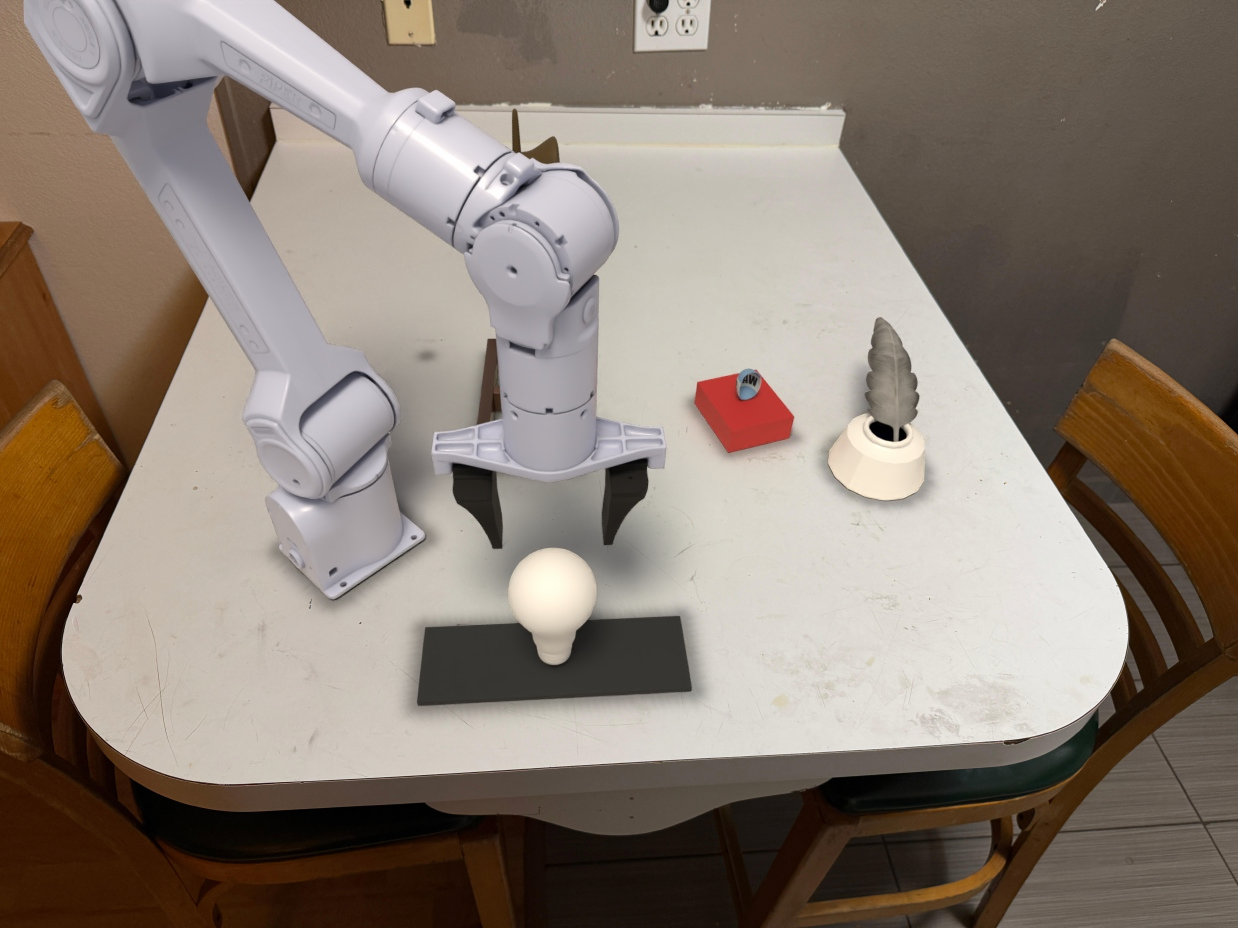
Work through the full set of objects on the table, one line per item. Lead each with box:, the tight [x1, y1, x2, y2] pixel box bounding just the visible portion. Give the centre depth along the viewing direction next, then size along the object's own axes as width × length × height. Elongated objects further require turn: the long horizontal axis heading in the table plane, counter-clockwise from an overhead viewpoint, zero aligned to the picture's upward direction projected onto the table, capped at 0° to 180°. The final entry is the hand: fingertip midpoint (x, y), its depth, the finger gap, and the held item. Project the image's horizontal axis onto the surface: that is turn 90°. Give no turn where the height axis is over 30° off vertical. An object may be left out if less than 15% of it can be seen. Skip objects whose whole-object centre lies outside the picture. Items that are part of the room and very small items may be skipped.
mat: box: [416, 615, 693, 707], centre depth 62 cm, size 20×6×1 cm, turn 95°
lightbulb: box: [507, 547, 598, 665], centre depth 58 cm, size 6×6×11 cm
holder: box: [476, 338, 502, 425], centre depth 82 cm, size 9×18×2 cm, turn 3°
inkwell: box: [827, 316, 926, 502], centre depth 79 cm, size 9×18×10 cm, turn 178°
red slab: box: [693, 368, 795, 453], centre depth 81 cm, size 8×7×6 cm
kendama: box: [511, 108, 561, 164], centre depth 96 cm, size 6×10×20 cm, turn 97°
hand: (552, 536), depth 57 cm, fingers open, 7 cm apart
